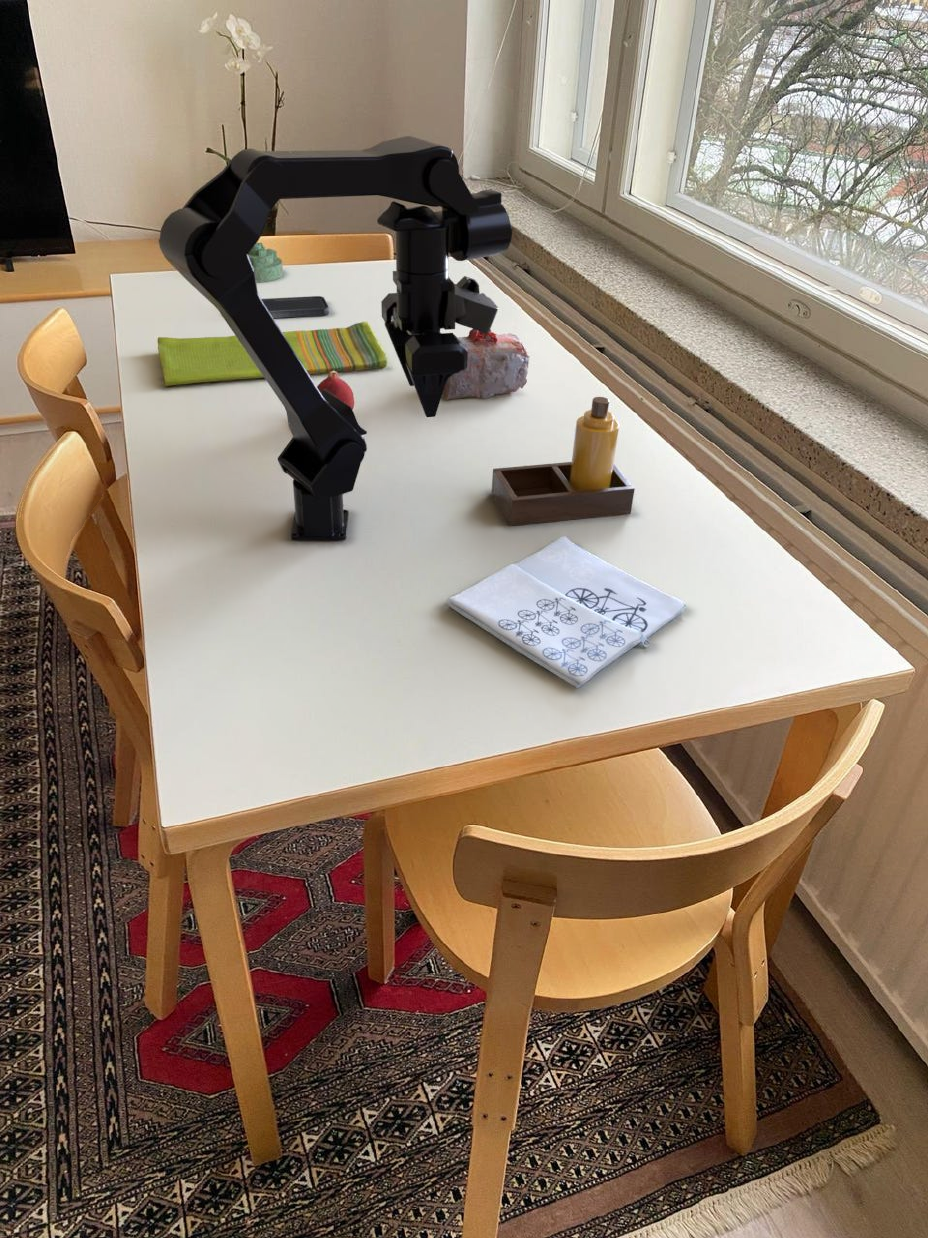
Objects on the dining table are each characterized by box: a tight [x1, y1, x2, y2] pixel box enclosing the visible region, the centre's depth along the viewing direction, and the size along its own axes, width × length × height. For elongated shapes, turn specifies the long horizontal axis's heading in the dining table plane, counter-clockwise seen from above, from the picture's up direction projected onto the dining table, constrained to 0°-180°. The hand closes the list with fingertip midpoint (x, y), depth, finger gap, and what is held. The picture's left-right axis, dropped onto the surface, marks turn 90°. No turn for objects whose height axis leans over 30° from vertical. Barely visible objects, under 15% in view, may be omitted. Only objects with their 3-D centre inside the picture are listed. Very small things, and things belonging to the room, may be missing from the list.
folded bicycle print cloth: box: [444, 535, 687, 689], centre depth 99 cm, size 19×20×2 cm
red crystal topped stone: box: [442, 328, 531, 401], centre depth 144 cm, size 14×8×10 cm, turn 111°
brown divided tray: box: [490, 461, 636, 527], centre depth 118 cm, size 8×16×4 cm, turn 105°
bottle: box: [569, 396, 620, 491], centre depth 115 cm, size 5×5×13 cm
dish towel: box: [156, 321, 388, 387], centre depth 152 cm, size 15×36×3 cm, turn 109°
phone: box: [261, 295, 330, 319], centre depth 173 cm, size 8×1×15 cm
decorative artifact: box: [248, 242, 284, 283], centre depth 189 cm, size 10×7×10 cm
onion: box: [316, 371, 355, 411], centre depth 132 cm, size 6×6×8 cm
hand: (421, 400), depth 111 cm, fingers open, 9 cm apart
